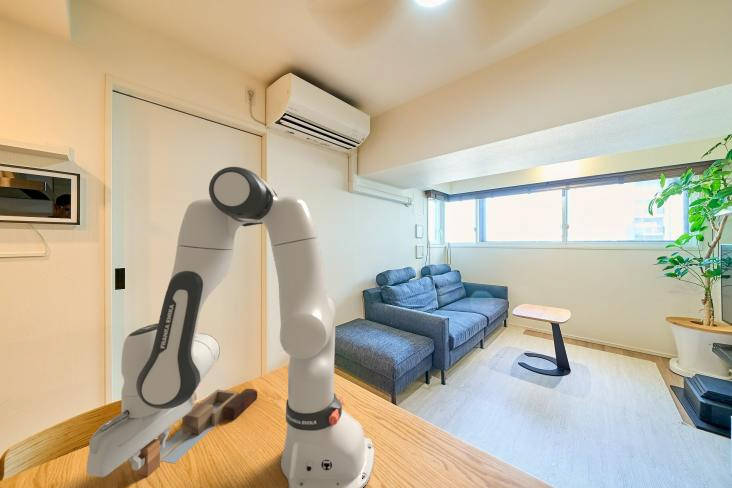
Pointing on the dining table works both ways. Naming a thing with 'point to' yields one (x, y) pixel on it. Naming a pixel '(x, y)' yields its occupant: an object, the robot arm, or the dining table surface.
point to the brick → (239, 404)
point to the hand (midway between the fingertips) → (149, 458)
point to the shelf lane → (218, 402)
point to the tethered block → (191, 425)
